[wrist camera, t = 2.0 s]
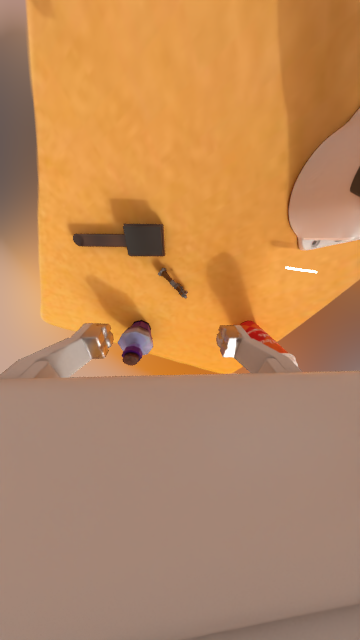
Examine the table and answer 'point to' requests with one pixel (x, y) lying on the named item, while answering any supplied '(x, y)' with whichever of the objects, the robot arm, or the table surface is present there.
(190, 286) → the table surface
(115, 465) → the robot arm
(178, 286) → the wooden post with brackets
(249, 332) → the coffee cup
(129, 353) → the potion bottle
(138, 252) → the mallet
